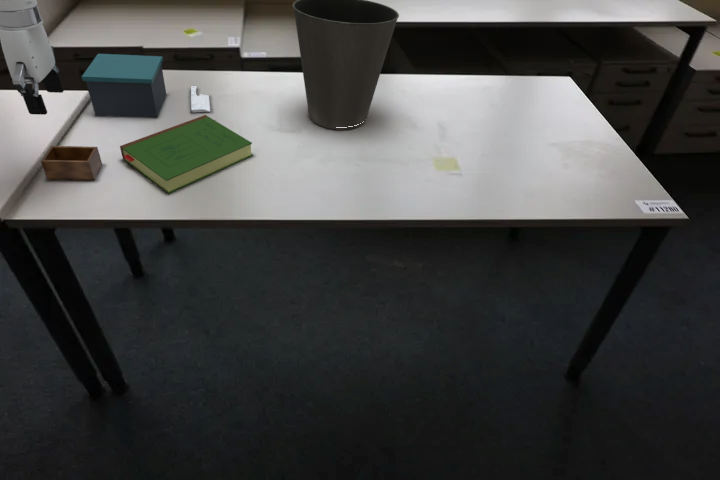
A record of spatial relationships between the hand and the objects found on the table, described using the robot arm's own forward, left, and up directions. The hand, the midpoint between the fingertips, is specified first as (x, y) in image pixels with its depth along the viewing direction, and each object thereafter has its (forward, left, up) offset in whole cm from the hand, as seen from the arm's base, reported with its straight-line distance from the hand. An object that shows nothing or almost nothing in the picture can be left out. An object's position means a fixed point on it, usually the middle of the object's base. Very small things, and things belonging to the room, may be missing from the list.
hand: (47, 102), depth 105 cm
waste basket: (+63, +33, -18) cm, 74 cm away
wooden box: (0, +2, -18) cm, 18 cm away
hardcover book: (+24, +9, -18) cm, 32 cm away
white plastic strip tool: (+23, +40, -18) cm, 50 cm away
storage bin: (+5, +36, -18) cm, 40 cm away
